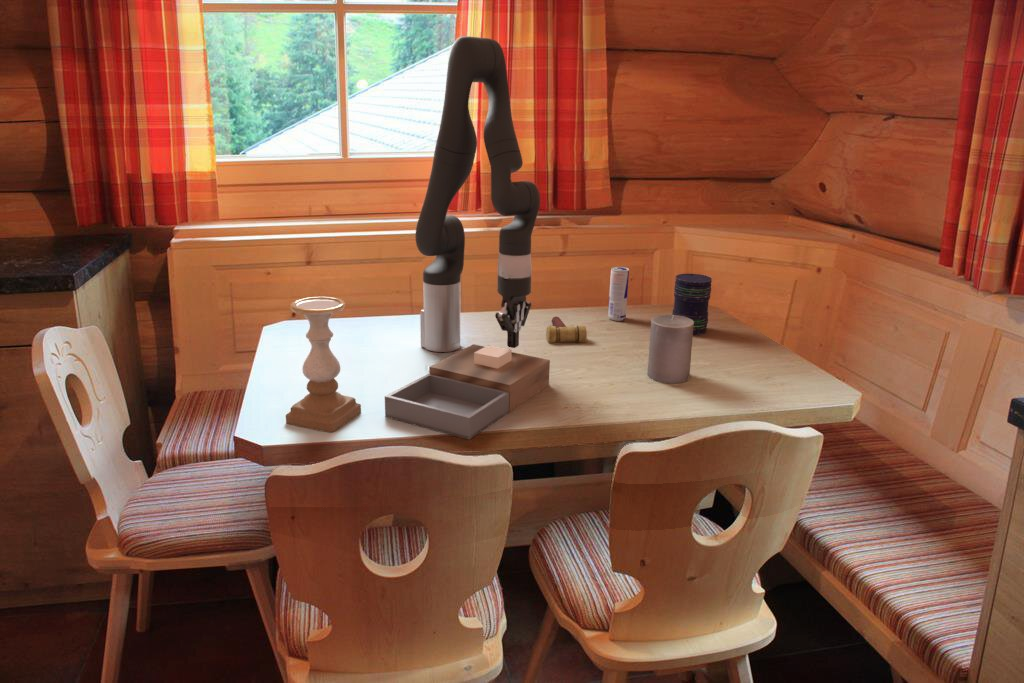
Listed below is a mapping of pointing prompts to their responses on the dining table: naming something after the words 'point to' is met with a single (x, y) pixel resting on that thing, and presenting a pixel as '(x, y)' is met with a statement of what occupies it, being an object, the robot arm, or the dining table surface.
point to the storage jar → (693, 299)
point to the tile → (492, 356)
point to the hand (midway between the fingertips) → (512, 346)
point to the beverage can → (618, 293)
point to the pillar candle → (670, 348)
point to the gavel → (565, 332)
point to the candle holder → (321, 372)
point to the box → (447, 405)
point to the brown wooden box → (497, 374)
